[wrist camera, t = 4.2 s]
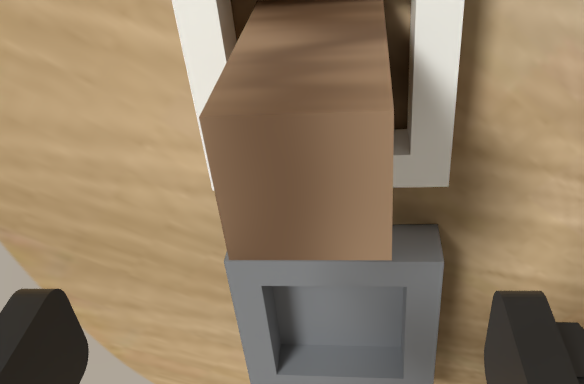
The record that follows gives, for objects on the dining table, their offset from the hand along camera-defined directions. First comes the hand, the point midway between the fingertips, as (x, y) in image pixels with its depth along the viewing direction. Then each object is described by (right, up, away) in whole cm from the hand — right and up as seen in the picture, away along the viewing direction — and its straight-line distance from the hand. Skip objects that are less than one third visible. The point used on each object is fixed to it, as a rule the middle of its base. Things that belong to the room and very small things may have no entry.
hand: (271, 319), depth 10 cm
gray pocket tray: (+3, -3, +18) cm, 19 cm away
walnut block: (+2, +8, +11) cm, 13 cm away
